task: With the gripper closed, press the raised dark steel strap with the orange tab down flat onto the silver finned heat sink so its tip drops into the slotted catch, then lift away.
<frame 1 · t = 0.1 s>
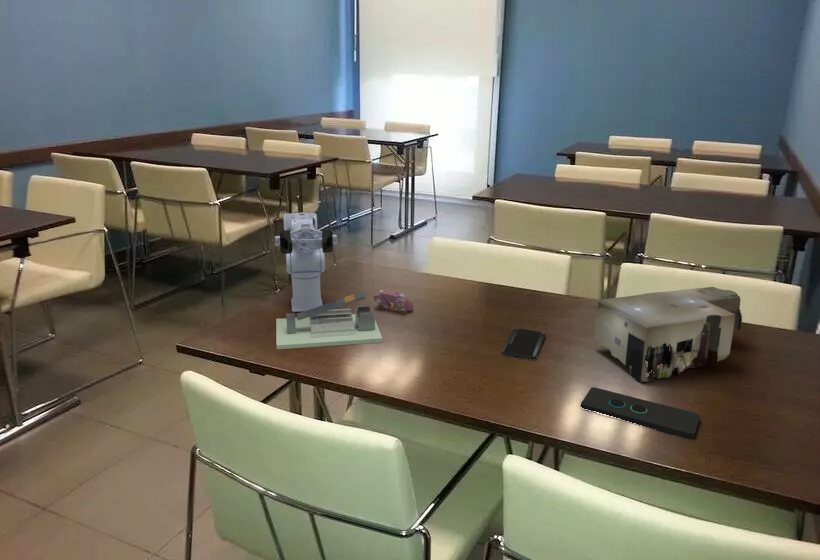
hand: (307, 247, 145), 22 cm above the table, tool horizontal, fingers open, 7 cm apart
pink plastic car shape: (393, 310, 169), on the table
grey boxy piece: (662, 356, 145), on the table
hinge and catch: (330, 319, 153), on the pale green board, point 3 cm above the table
phone: (523, 347, 148), on the table
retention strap: (330, 305, 152), point 7 cm above the table, hinge at 16.0°
smart home device: (638, 417, 120), on the table
heat sink: (331, 322, 153), on the pale green board, point 2 cm above the table
pale green board: (327, 332, 154), on the table
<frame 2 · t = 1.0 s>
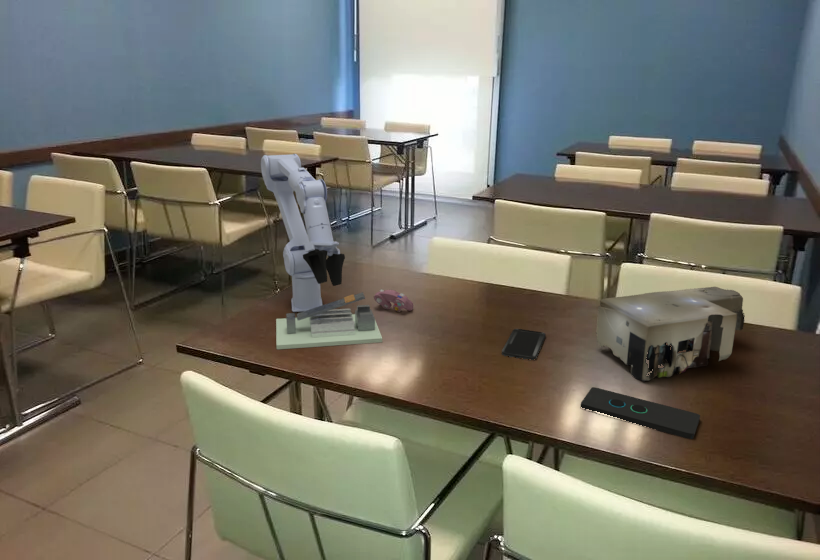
hand: (330, 283, 151), 12 cm above the table, tool tilted 30°, fingers open, 7 cm apart
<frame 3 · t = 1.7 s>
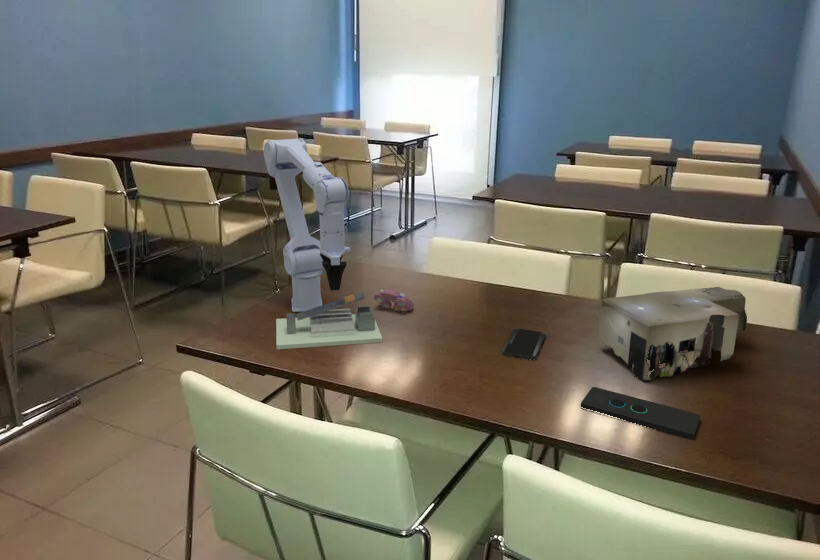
hand: (333, 285, 155), 10 cm above the table, tool pointing down, fingers open, 6 cm apart
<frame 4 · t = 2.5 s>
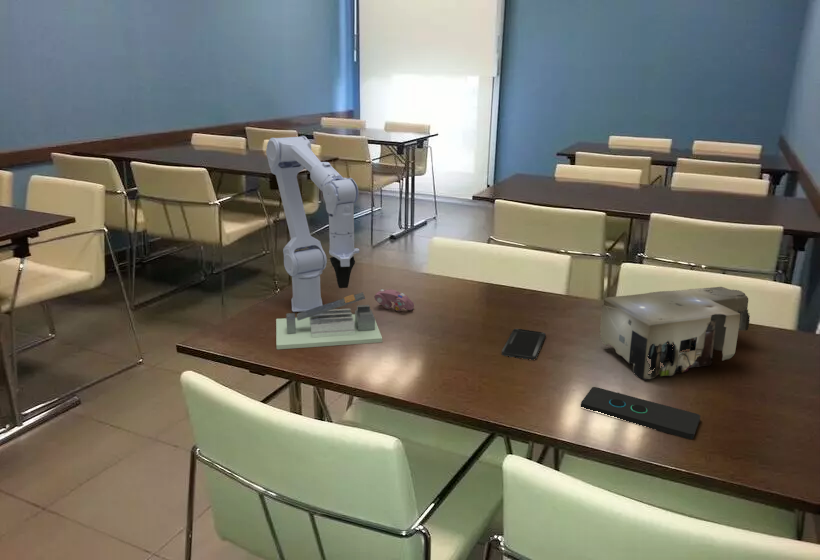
hand: (343, 287, 153), 11 cm above the table, tool pointing down, fingers closed
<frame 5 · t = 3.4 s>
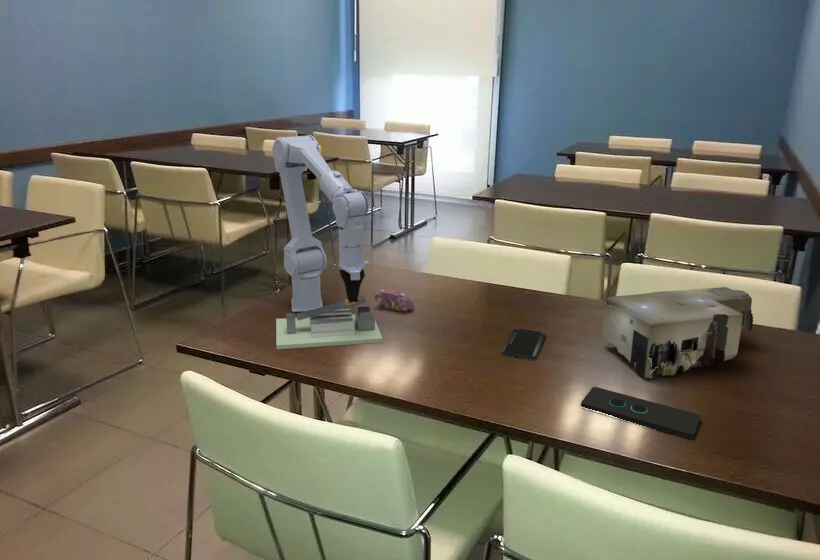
hand: (352, 299, 152), 8 cm above the table, tool pointing down, fingers closed, pressing on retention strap
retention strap: (331, 307, 152), point 6 cm above the table, hinge at 13.0°, touching gripper
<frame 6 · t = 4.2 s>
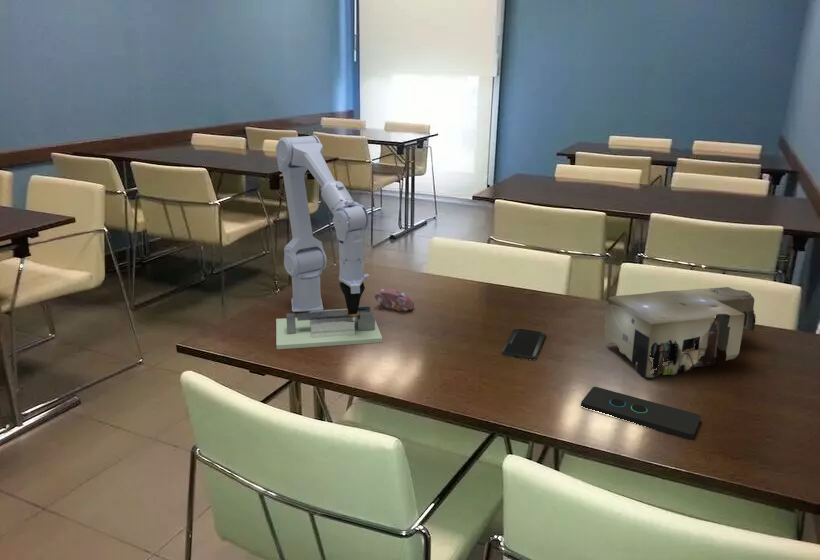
hand: (352, 312, 153), 5 cm above the table, tool pointing down, fingers closed, pressing on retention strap
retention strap: (332, 314, 153), point 4 cm above the table, hinge at -0.1°, touching gripper, heat sink, hinge and catch
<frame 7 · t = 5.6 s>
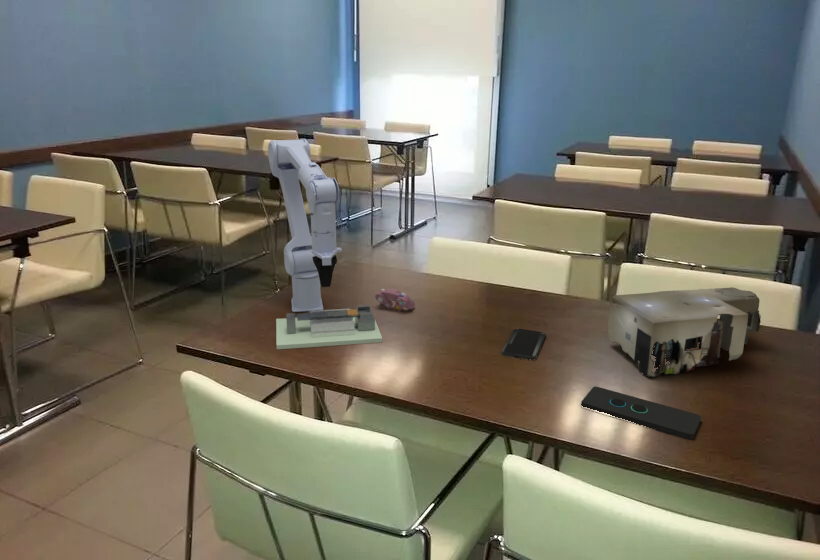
hand: (325, 286, 154), 10 cm above the table, tool pointing down, fingers closed
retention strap: (332, 314, 153), point 4 cm above the table, hinge at 0.0°, touching heat sink, hinge and catch
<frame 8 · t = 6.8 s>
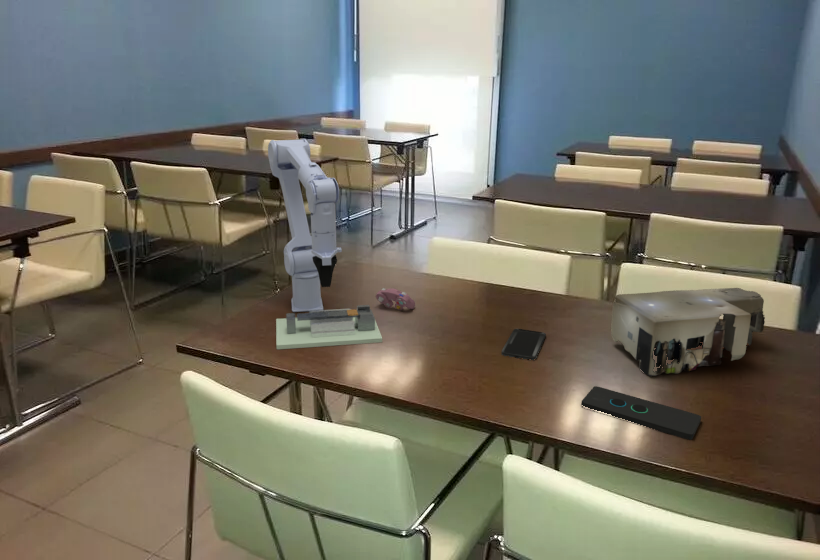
hand: (325, 286, 154), 10 cm above the table, tool pointing down, fingers closed
at the end: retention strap at +0° (first picture: +16°) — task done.
